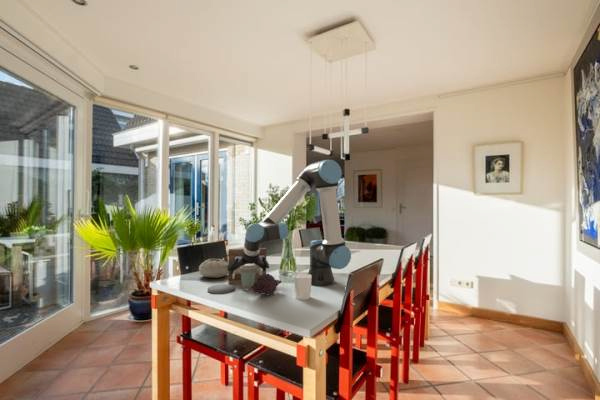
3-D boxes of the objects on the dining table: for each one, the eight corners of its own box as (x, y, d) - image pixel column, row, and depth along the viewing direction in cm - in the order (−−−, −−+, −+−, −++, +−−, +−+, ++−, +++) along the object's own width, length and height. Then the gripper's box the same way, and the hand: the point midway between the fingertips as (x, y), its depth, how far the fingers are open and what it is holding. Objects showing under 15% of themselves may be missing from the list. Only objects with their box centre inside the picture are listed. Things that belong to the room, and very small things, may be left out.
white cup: (294, 294, 140) (294, 273, 140) (311, 295, 140) (311, 273, 140) (293, 300, 132) (294, 277, 133) (311, 300, 132) (311, 278, 132)
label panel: (228, 281, 163) (228, 248, 163) (265, 279, 167) (265, 247, 167) (228, 284, 157) (228, 250, 157) (266, 282, 161) (266, 249, 161)
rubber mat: (239, 290, 147) (239, 288, 147) (215, 295, 138) (215, 293, 138) (226, 284, 156) (226, 282, 156) (202, 289, 148) (202, 287, 148)
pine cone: (258, 302, 129) (258, 279, 129) (243, 297, 136) (243, 275, 136) (285, 293, 143) (286, 272, 143) (271, 289, 149) (271, 269, 149)
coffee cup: (253, 290, 146) (253, 266, 146) (236, 289, 148) (237, 265, 148) (259, 286, 154) (259, 262, 155) (243, 285, 156) (243, 262, 156)
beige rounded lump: (233, 273, 182) (233, 256, 182) (226, 281, 164) (227, 262, 164) (204, 273, 182) (204, 256, 182) (194, 280, 164) (194, 262, 164)
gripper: (224, 258, 131) (221, 283, 145) (279, 256, 139) (272, 280, 153) (223, 244, 136) (221, 270, 151) (276, 243, 144) (270, 267, 158)
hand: (246, 275), depth 152 cm, fingers open, 13 cm apart
